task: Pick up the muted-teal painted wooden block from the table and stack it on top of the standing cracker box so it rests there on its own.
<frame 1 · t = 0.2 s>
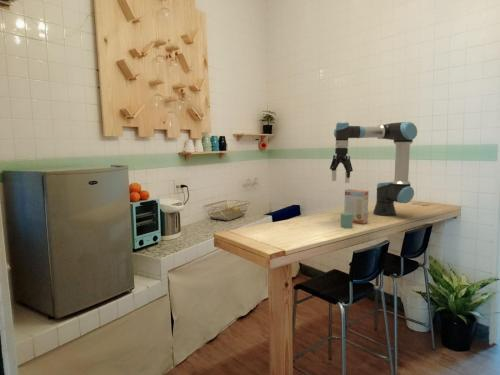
hand: (340, 181, 209), 27 cm above the counter, fingers open, 13 cm apart
cracker box: (355, 222, 218), on the counter
teal block: (346, 227, 205), on the counter
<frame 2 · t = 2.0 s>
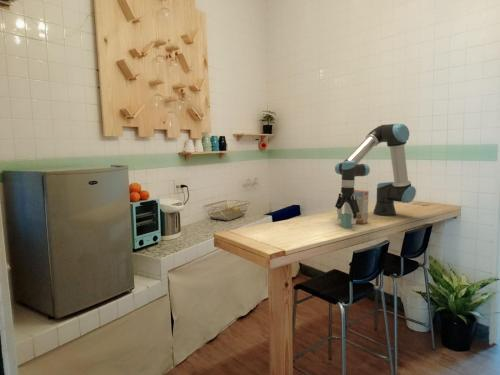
hand: (346, 221, 204), 4 cm above the counter, fingers open, 13 cm apart
nothing on the counter moved.
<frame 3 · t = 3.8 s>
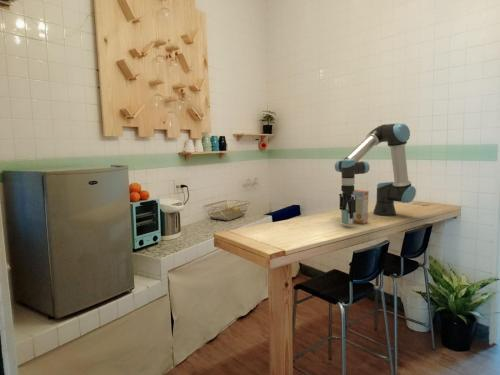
hand: (347, 222, 205), 3 cm above the counter, fingers closed on teal block, 5 cm apart
teal block: (347, 223, 205), point 2 cm above the counter, touching gripper
everything else where it was.
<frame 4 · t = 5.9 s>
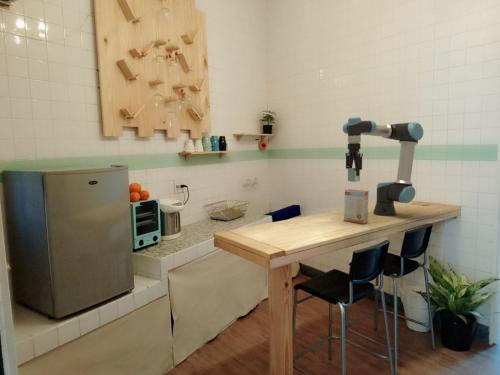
hand: (353, 180, 208), 28 cm above the counter, fingers closed on teal block, 5 cm apart
teal block: (353, 181, 209), point 28 cm above the counter, touching gripper
everything else where it was.
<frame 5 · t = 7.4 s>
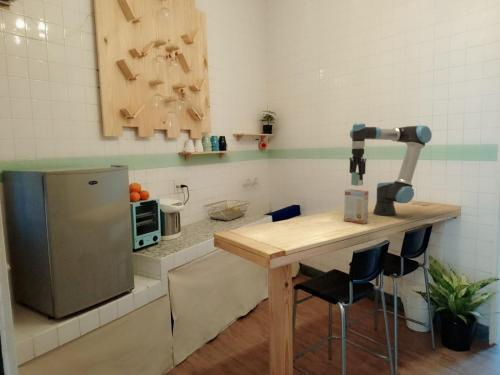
hand: (356, 184, 215), 25 cm above the counter, fingers closed on teal block, 5 cm apart
teal block: (357, 185, 215), point 24 cm above the counter, touching gripper
everything else where it was.
when the fingers open (22 cm above the counter, at t = 8.3 s): teal block stays where it is, resting on cracker box.
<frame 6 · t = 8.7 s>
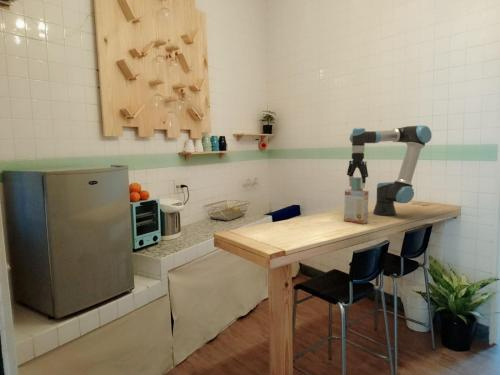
hand: (356, 187, 215), 23 cm above the counter, fingers open, 10 cm apart
cracker box: (355, 222, 218), on the counter, touching teal block
teal block: (356, 190, 216), point 21 cm above the counter, touching cracker box
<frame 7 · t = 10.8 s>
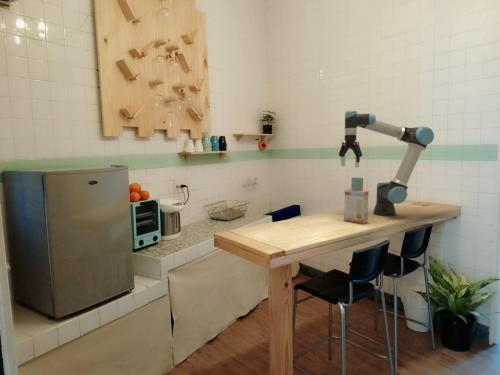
hand: (349, 166, 224), 35 cm above the counter, fingers open, 13 cm apart
nothing on the counter moved.
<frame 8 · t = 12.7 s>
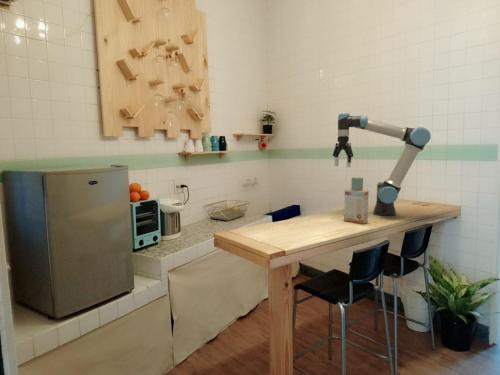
hand: (342, 166, 235), 35 cm above the counter, fingers open, 13 cm apart
nothing on the counter moved.
at the end: teal block 0.2 cm from the cracker box (horizontally); teal block point 20.9 cm above the counter; teal block tilted 0° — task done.
